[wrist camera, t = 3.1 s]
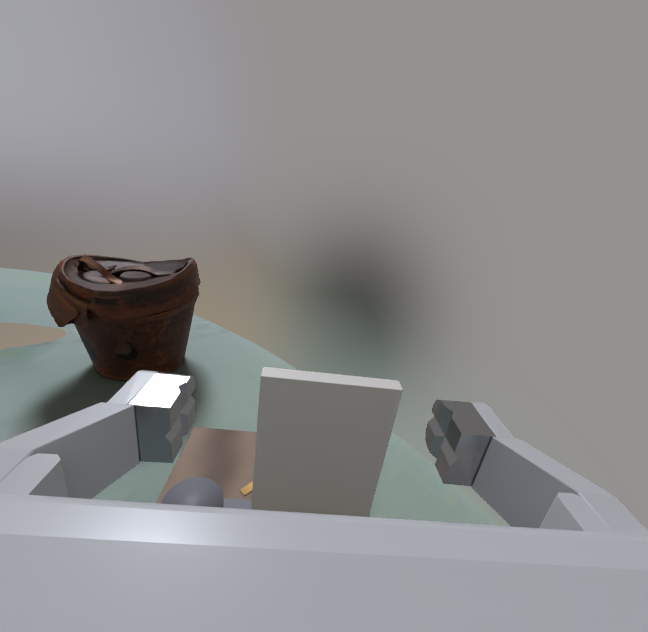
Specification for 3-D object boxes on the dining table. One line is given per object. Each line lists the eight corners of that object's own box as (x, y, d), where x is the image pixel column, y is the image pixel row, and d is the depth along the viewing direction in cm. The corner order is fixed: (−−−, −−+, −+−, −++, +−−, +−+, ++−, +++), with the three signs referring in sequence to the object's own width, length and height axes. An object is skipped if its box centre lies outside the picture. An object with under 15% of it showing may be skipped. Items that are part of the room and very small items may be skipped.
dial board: (105, 619, 23) (103, 606, 22) (194, 436, 39) (194, 426, 39) (380, 630, 24) (384, 618, 24) (353, 449, 41) (355, 440, 40)
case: (47, 355, 50) (25, 242, 44) (173, 328, 65) (171, 240, 58) (82, 415, 40) (60, 279, 34) (222, 366, 55) (226, 266, 48)
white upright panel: (149, 550, 25) (132, 380, 19) (175, 494, 30) (167, 343, 24) (365, 563, 27) (410, 407, 21) (357, 507, 31) (392, 367, 25)
